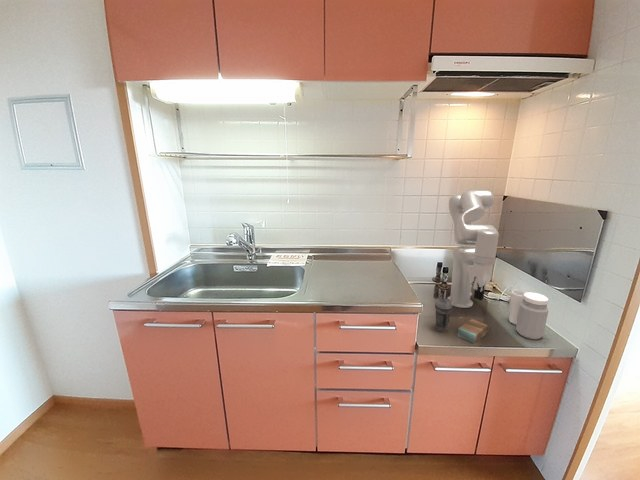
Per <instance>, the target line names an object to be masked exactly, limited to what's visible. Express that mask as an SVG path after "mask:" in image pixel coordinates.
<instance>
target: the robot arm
mask: <svg viewBox="0 0 640 480" xmlns="http://www.w3.org/2000/svg"><path fill="white" fill-rule="evenodd" d="M494 202H495V195H494V193H493V191H491V190H489V189H488V190H487V189H483V190H481V189H479V190H478V189H473V190H472V189H470V190H466V191H464V192H462V193H461V194H454V195H452V196H450V198H449V199H448V210H449V213H450V216H451V218H452V221H453V234H454V241H455V243H456V244H457V245H460V246H457V247H455V248H454V249H453V250H452V274H451V275H452V276H451V284H450V285H451V287H450V295H449V296H448V297H447V298H448V299H449V300H450V301H451V303H452V307H455V308H459V309H460V308H462V309H469V308H472V306H473V305H474V301H472V299H471V296H473V298H474V299H476V300H479V301H482V300H484V296H485V290H486V286H487V285H488V284H489V283H491V280H492V274H493V267H494V265H495V263H496V261H495V260H496V257H497V248H498V245H499V244H498V243H499V235H500V233H499V231H498V230H497V228H496V227H495V226H494V225H491V224H473V222H476V221H479V220H480V219H482V218H483V217H484V216H485V213H486V210H487V209H489V208H491V207H492V206H493V205H494V204H495V203H494ZM469 266H472V268H471V267H469ZM472 289H473V290H474V293H472Z"/></svg>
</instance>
